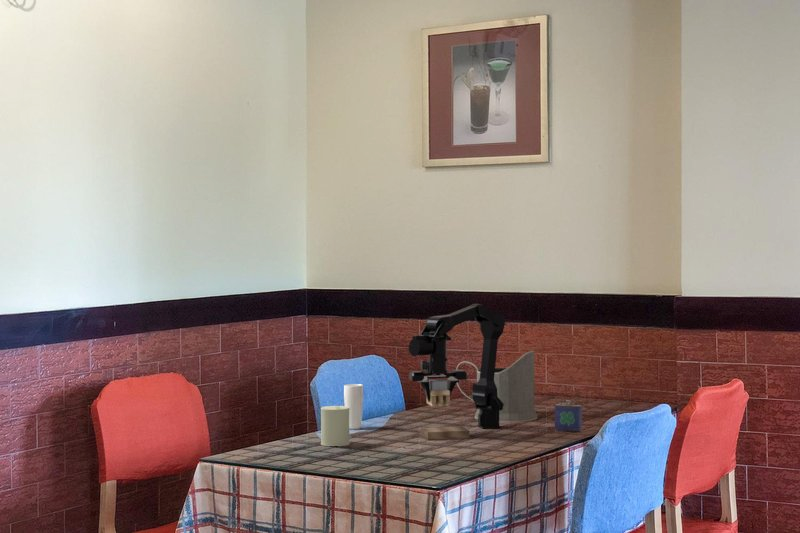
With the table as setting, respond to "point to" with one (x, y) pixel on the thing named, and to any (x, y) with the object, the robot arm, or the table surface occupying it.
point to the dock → (445, 433)
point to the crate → (437, 385)
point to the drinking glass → (354, 404)
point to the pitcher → (513, 389)
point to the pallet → (439, 398)
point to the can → (335, 426)
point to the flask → (568, 417)
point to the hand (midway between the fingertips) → (438, 401)
